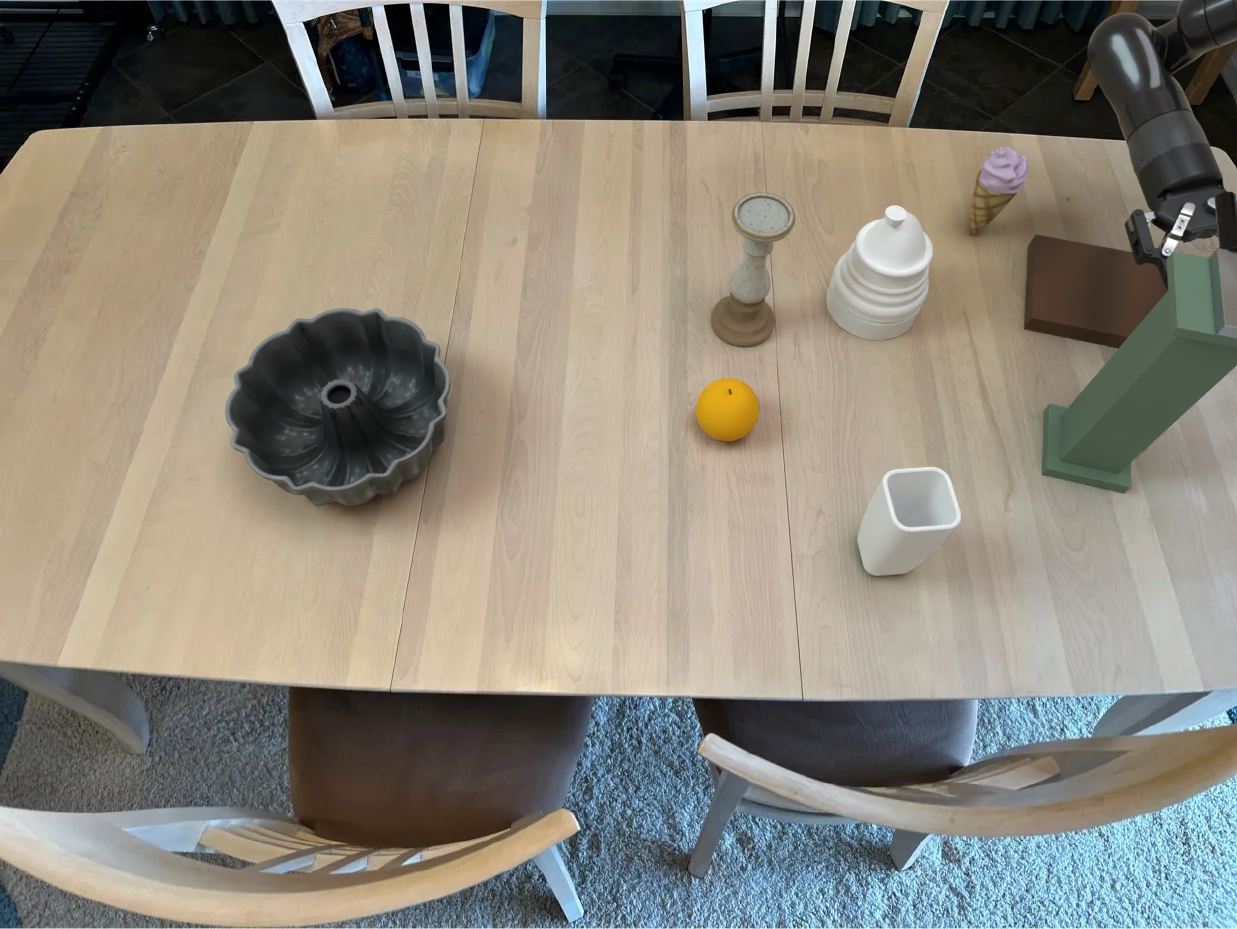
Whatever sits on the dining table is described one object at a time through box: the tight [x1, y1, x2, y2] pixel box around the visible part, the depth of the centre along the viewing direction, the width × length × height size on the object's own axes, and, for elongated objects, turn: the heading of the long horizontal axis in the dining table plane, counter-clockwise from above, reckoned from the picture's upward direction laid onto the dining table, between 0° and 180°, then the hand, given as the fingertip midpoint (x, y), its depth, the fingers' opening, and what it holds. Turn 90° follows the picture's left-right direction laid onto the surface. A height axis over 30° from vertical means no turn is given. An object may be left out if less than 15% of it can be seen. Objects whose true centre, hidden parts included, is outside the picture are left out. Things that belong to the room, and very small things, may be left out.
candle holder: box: [710, 191, 796, 347], centre depth 108 cm, size 9×9×20 cm
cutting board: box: [1023, 233, 1168, 349], centre depth 118 cm, size 20×16×2 cm
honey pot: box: [825, 204, 934, 341], centre depth 111 cm, size 13×13×18 cm
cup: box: [856, 466, 962, 577], centre depth 94 cm, size 7×7×15 cm
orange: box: [695, 377, 761, 442], centre depth 106 cm, size 8×8×8 cm
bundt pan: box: [224, 307, 452, 507], centre depth 104 cm, size 26×26×10 cm
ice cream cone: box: [967, 145, 1030, 237], centre depth 119 cm, size 7×6×15 cm
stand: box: [1041, 251, 1237, 494], centre depth 94 cm, size 10×10×30 cm
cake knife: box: [1208, 191, 1237, 339], centre depth 82 cm, size 3×18×2 cm, turn 165°
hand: (1220, 282), depth 94 cm, fingers open, 8 cm apart
